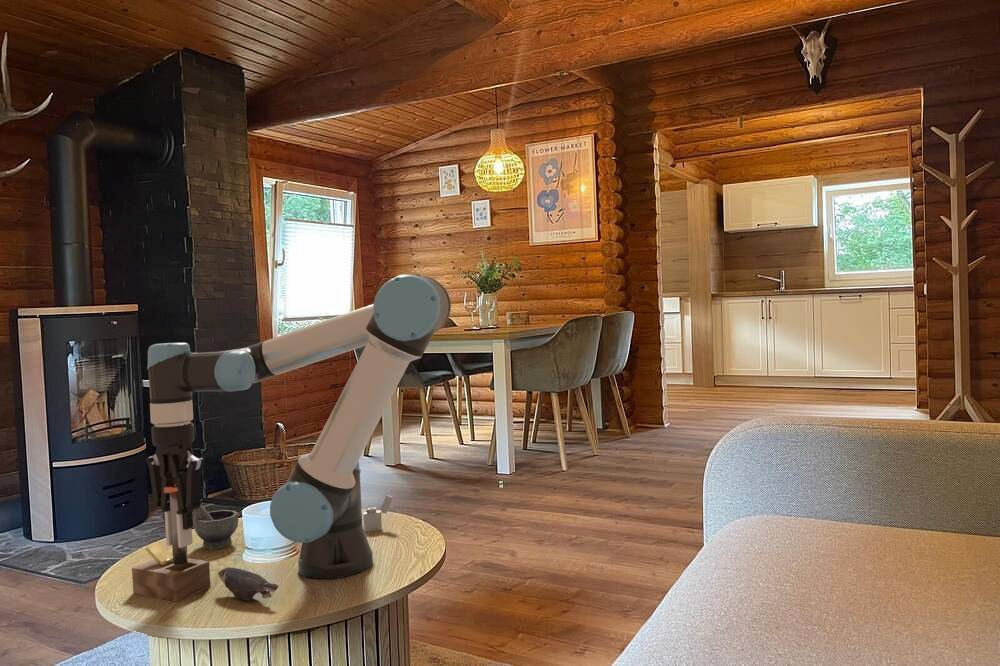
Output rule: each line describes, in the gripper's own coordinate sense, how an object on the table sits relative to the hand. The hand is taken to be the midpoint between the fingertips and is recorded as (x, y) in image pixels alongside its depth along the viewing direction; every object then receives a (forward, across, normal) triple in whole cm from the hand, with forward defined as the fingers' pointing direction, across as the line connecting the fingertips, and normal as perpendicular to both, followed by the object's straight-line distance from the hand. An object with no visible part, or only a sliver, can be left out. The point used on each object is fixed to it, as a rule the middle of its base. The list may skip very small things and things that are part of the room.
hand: (179, 544), depth 147 cm
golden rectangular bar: (+3, +6, 0) cm, 7 cm away
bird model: (+10, -15, -2) cm, 18 cm away
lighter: (+9, -13, -47) cm, 50 cm away
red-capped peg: (+4, 0, 0) cm, 4 cm away
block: (+9, +3, 0) cm, 10 cm away
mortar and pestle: (+10, +17, -24) cm, 31 cm away
